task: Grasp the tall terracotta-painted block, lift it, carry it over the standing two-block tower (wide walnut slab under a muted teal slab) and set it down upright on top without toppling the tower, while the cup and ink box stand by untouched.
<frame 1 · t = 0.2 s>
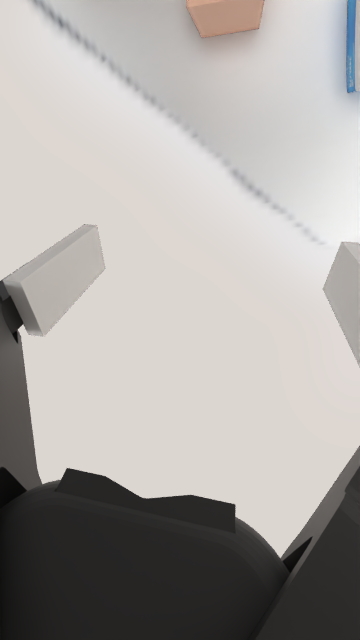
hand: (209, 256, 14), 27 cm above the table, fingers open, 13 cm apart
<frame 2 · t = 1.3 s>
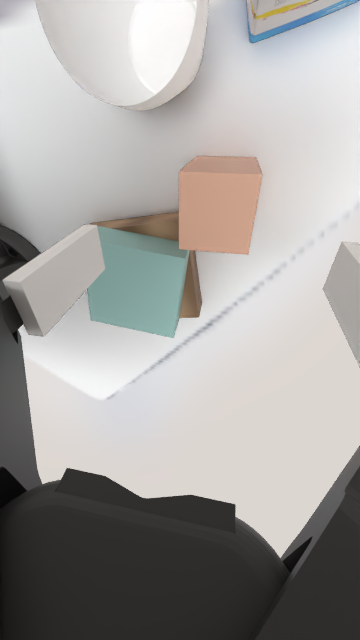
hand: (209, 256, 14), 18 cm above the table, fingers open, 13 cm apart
cup: (166, 45, 22), on the table
block bottom: (150, 264, 36), on the table
block top: (142, 276, 33), point 3 cm above the table
tall block: (222, 188, 28), on the table
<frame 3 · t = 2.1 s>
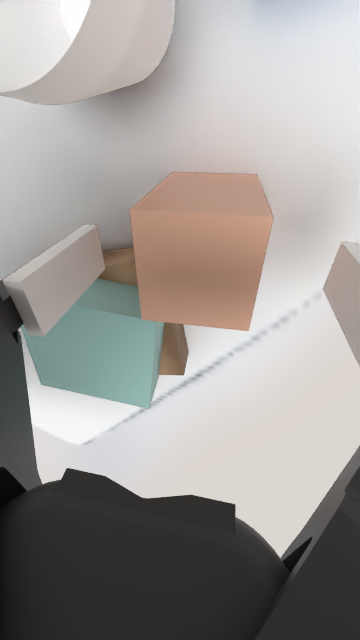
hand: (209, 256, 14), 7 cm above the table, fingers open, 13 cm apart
cup: (118, 6, 14), on the table
block bottom: (122, 305, 28), on the table, touching block top
block top: (107, 328, 25), point 3 cm above the table, touching block bottom
tall block: (210, 216, 20), on the table
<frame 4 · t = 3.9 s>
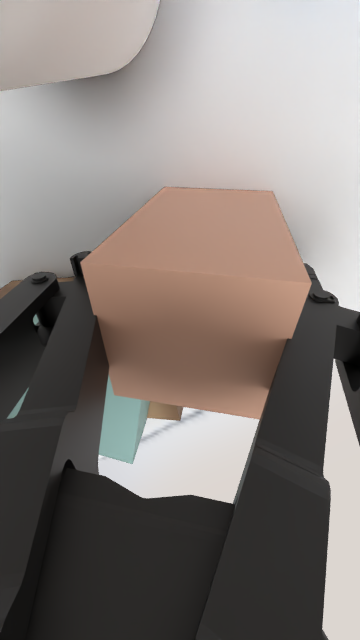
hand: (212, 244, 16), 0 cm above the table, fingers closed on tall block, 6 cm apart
block bottom: (109, 336, 24), on the table
block top: (87, 367, 21), point 3 cm above the table
tall block: (212, 241, 16), on the table, touching gripper
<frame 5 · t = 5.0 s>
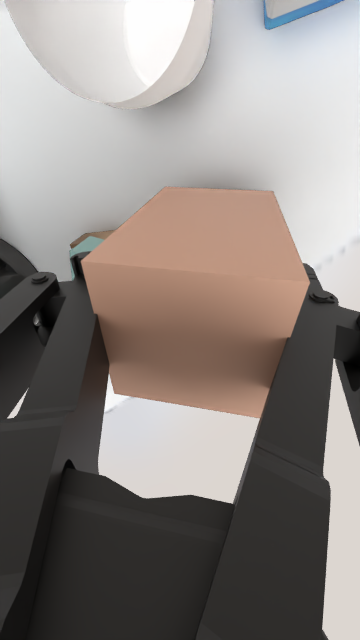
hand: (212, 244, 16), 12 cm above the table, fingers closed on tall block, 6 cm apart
cup: (167, 34, 19), on the table
block top: (136, 293, 30), point 3 cm above the table, touching block bottom
tall block: (213, 241, 16), point 11 cm above the table, touching gripper
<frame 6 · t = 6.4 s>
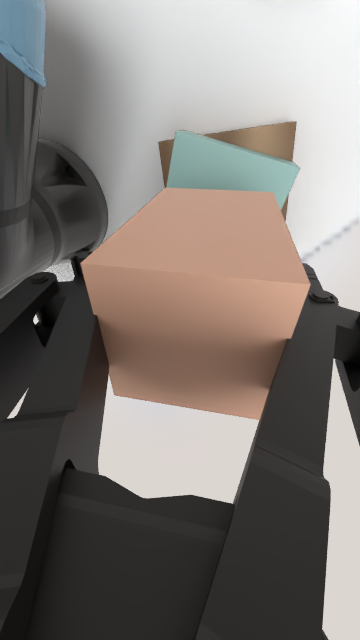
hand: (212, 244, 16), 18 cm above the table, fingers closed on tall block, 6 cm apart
block bottom: (226, 196, 31), on the table, touching block top
block top: (221, 204, 28), point 3 cm above the table, touching block bottom
tall block: (213, 242, 16), point 18 cm above the table, touching gripper
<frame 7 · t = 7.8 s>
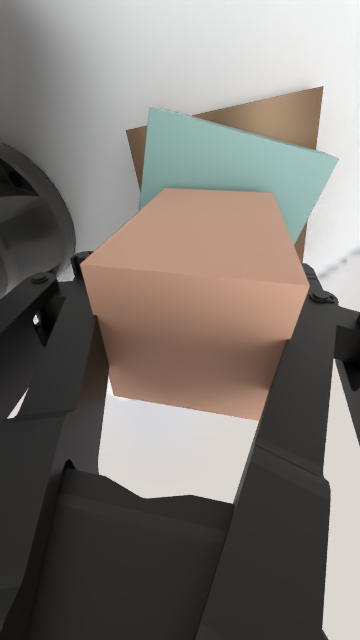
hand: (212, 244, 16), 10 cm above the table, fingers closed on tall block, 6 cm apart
block bottom: (224, 199, 24), on the table, touching block top
block top: (219, 212, 21), point 3 cm above the table, touching block bottom
tall block: (212, 242, 16), point 10 cm above the table, touching gripper
when the fingers open (9 cm above the table, at t = 9.0 s): tall block drops 1 cm, point 7 cm above the table.
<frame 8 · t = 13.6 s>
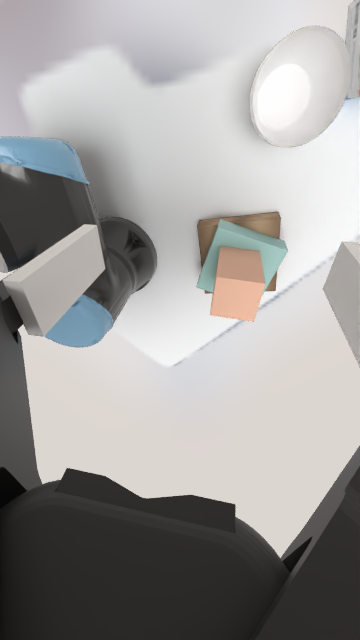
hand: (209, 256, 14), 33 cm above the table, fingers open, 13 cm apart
cup: (283, 99, 34), on the table
block bottom: (238, 251, 48), on the table
block top: (238, 260, 45), point 3 cm above the table
tall block: (236, 266, 41), point 7 cm above the table
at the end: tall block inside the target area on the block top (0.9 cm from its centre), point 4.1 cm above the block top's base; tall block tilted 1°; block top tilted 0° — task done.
